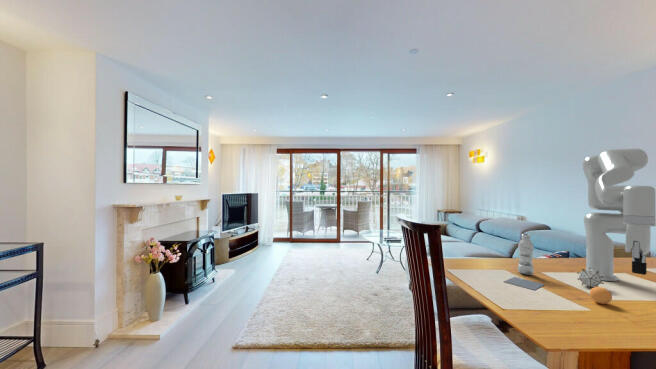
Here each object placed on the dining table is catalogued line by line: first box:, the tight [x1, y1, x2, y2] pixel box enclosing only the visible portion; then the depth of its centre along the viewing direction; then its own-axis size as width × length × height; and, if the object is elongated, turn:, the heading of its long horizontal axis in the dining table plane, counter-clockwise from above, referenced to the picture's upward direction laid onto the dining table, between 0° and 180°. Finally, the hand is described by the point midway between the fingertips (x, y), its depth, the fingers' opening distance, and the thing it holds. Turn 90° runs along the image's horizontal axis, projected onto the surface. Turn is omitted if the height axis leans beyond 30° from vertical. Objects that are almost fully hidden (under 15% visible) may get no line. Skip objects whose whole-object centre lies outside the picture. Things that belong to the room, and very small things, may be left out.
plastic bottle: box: [517, 233, 535, 276], centre depth 136 cm, size 6×7×20 cm
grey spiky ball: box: [576, 268, 605, 290], centre depth 120 cm, size 9×8×10 cm
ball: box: [589, 286, 613, 305], centre depth 103 cm, size 6×6×6 cm
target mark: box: [503, 276, 546, 291], centre depth 123 cm, size 12×12×1 cm
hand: (639, 273), depth 95 cm, fingers closed
